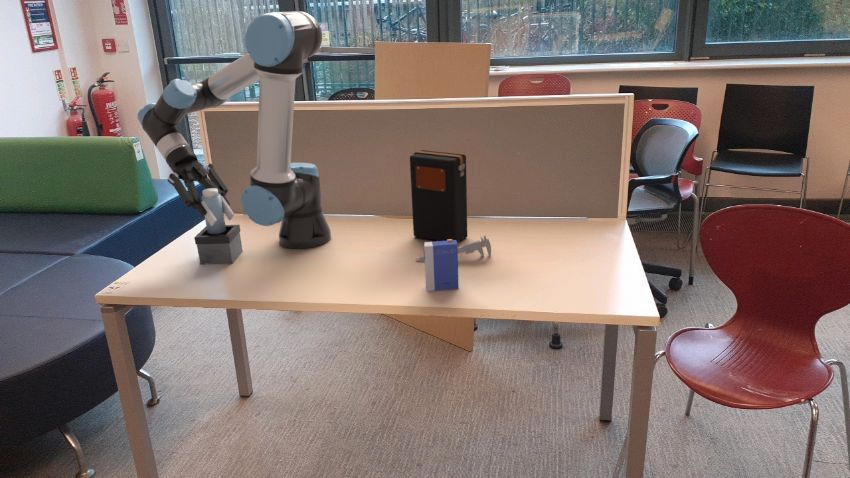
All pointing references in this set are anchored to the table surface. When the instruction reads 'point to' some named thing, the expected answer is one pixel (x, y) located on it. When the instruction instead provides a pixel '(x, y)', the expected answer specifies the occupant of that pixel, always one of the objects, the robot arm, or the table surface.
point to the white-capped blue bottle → (214, 210)
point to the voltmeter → (439, 195)
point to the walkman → (441, 265)
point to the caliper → (471, 248)
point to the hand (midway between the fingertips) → (223, 220)
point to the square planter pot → (219, 246)
